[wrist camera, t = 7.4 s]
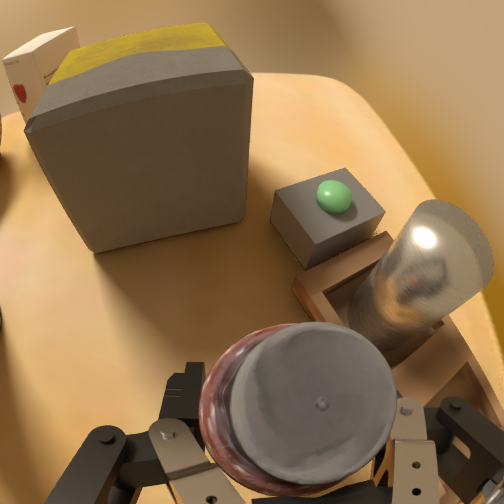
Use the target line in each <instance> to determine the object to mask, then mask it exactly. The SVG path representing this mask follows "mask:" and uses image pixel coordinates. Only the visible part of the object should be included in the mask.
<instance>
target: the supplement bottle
mask: <svg viewBox="0 0 504 504" xmlns="http://www.w3.org/2000/svg"><path fill="white" fill-rule="evenodd" d="M396 413H397V390H396V384H395V381H394V377H393V374H392V371H391V369H390V367H389V365H388V363H387V361H386V359H385V358H384V357H383V355H382V354H381V352H380V351H379V350H378V349H377V348H376V347H375V346H374V345H373V344H372V343H371V342H370V341H369V340H368V339H367V338H365V337H364V336H363V335H361V334H359V333H357V332H356V331H354V330H352V329H349V328H346V327H344V326H340V325H336V324H334V323H327V322H302V323H298V324H297V323H292V324H280V325H275V326H270V327H266V328H263V329H260V330H257V331H254V332H252V333H250V334H248V335H247V336H245V337H243V338H241V339H240V340H238V341H237V342H236V343H234V344H233V345H231V346H230V347H229V348H228V349H227V350H226V351H225V352H224V353H223V354H222V355H221V357H220V358H219V359H218V360H217V361H216V363H215V364H214V365H213V367H212V368H211V370H210V372H209V374H208V376H207V378H206V380H205V382H204V384H203V387H202V391H201V395H200V401H199V425H200V431H201V435H202V438H203V441H204V444H205V446H206V448H207V450H208V452H209V454H210V455H211V457H212V458H213V460H214V461H215V463H216V464H217V465H218V466H219V467H220V468H221V469H222V470H223V471H224V472H225V473H226V474H227V475H228V476H229V477H230V478H232V479H233V480H234V481H236V482H237V483H239V484H241V485H242V486H244V487H246V488H248V489H251V490H253V491H256V492H258V493H262V494H265V495H269V496H277V497H280V496H288V497H299V496H305V495H310V494H315V493H318V492H321V491H323V490H326V489H328V488H330V487H332V486H334V485H336V484H338V483H340V482H341V481H342V480H344V479H345V478H347V477H348V476H350V475H352V474H353V473H355V472H357V471H358V470H360V469H361V468H363V467H364V466H365V465H366V464H368V463H369V462H370V461H371V460H372V459H373V458H374V457H375V456H376V455H377V454H378V453H379V451H380V450H381V448H382V447H383V446H384V444H385V442H386V441H387V438H388V437H389V435H390V432H391V430H392V428H393V424H394V421H395V417H396Z"/></svg>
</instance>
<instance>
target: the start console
mask: <svg viewBox="0 0 504 504" xmlns="http://www.w3.org/2000/svg"><path fill="white" fill-rule="evenodd" d="M385 212H386V211H385V210H384V209H383V208H382V207H381V206H380V204H379V203H378V202H377V201H376V200H375V199H374V198H373V197H372V196H371V194H370V193H369V192H368V191H367V190H366V189H365V188H364V187H363V186H362V185H361V184H360V183H359V181H358V180H357V179H356V178H355V177H354V176H353V175H352V174H351V173H350V172H349V171H348V170H347V169H346V168H343V169H339V170H336V171H333V172H330V173H327V174H324V175H321V176H318V177H315V178H312V179H309V180H306V181H303V182H300V183H297V184H294V185H291V186H288V187H285V188H282V189H279V190H276V191H275V193H274V199H273V206H272V212H271V218H270V221H271V222H272V224H273V225H274V226H275V228H276V229H277V231H278V232H279V234H280V235H281V236H282V238H283V239H284V241H285V242H286V244H287V245H288V246H289V248H290V249H291V251H292V252H293V254H294V255H295V257H296V258H297V260H298V261H299V262H300V264H301V265H302V267H303V268H304V270H307V269H309V268H311V267H313V266H315V265H317V264H319V263H321V262H323V261H325V260H327V259H329V258H331V257H333V256H335V255H337V254H339V253H341V252H343V251H345V250H347V249H349V248H351V247H353V246H355V245H357V244H359V243H361V242H363V241H365V240H367V239H369V238H371V236H372V234H373V233H374V231H375V229H376V228H377V226H378V224H379V222H380V221H381V219H382V217H383V216H384V214H385Z"/></svg>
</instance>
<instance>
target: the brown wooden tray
mask: <svg viewBox="0 0 504 504" xmlns="http://www.w3.org/2000/svg"><path fill="white" fill-rule="evenodd" d="M393 241H394V240H393V239H392V237H391V236H390V235H389V234H388V232H387V231H384V232H383V233H381V234H379V235H377V236H375V237H373V238H371V239H369V240H367V241H365V242H363V243H361V244H359V245H357V246H355V247H354V248H352V249H350V250H348V251H346V252H344V253H342V254H340V255H338V256H336V257H334V258H332V259H330V260H328V261H326V262H324V263H322V264H320V265H318V266H316V267H314V268H312V269H309V270H307V271H305V272H303V273H301V274H299V275H297V276H296V279H295V281H294V284H293V287H292V289H291V290H292V291H293V293H294V294H295V296H296V297H297V299H298V300H299V302H300V304H301V305H302V307H303V308H304V310H305V311H306V313H307V315H308V316H309V318H310V319H311V321H312V322H327V323H334V324H336V325H340V326H344V327H346V328H349V329H350V327H349V324H348V319H347V309H348V305H349V302H350V300H351V298H352V296H353V295H354V294H355V292H356V291H357V290H358V289H359V287H360V286H361V285H362V283H363V282H364V281H365V280H366V278H367V277H368V276H369V274H370V273H371V272H372V270H373V269H374V268H375V266H376V265H377V264H378V262H379V261H380V260H381V258H382V257H383V255H384V254H385V253H386V251H387V250H388V249H389V247H390V246H391V244H392V243H393ZM381 354H382V355H383V357H384V358H385V359H386V361H387V363H388V365H389V367H390V369H391V371H392V374H393V377H394V381H395V384H396V388H397V390H398V391H399V392H400V394H401V395H402V396H403V397H406V398H412V399H415V400H417V401H418V402H420V403H421V405H422V406H423V408H430V407H439V406H440V403H441V401H442V400H443V399H444V398H446V397H449V396H455V397H460V398H462V399H464V400H465V401H467V402H468V403H469V404H470V405H472V406H473V407H474V408H475V409H477V410H478V411H479V412H480V413H482V414H483V415H484V416H485V417H487V418H488V419H489V420H490V421H492V422H493V423H494V424H495V425H496V426H498V427H499V428H500V429H501V430H503V431H504V411H503V409H502V407H501V405H500V403H499V401H498V399H497V397H496V395H495V393H494V391H493V389H492V387H491V385H490V383H489V381H488V380H487V378H486V376H485V374H484V372H483V370H482V369H481V367H480V365H479V363H478V362H477V360H476V358H475V356H474V355H473V353H472V351H471V350H470V348H469V346H468V345H467V343H466V341H465V340H464V338H463V337H462V335H461V333H460V332H459V330H458V329H457V327H456V326H455V324H454V322H453V321H452V319H451V318H450V316H449V315H447V316H446V317H444V318H443V319H441V320H440V321H438V322H437V323H436V324H434V325H433V326H431V327H430V328H428V329H427V330H425V331H424V332H422V333H421V334H419V335H417V336H416V337H414V338H413V339H411V340H410V341H408V342H406V343H405V344H403V345H402V346H400V347H398V348H397V349H394V350H392V351H389V352H381ZM453 444H454V445H455V446H456V447H457V448H458V449H459V450H460V451H461V452H462V453H463V454H464V455H465V456H466V457H467V458H468V459H469V458H470V450H469V448H468V447H467V446H466V445H465V444H464V443H463V442H462V441H460V440H459V439H458V438H457V437H456V438H455V440H454V442H453ZM438 481H439V502H440V504H457V503H458V502H459V501H460V498H459V497H458V496H457V495H456V494H455V493H454V492H453V491H452V490H451V489H450V488H449V486H448V485H447V484H446V483H445V482H444V481H443V480H442V479H441V478H440V477H439V476H438Z"/></svg>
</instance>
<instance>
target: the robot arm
mask: <svg viewBox="0 0 504 504" xmlns="http://www.w3.org/2000/svg"><path fill="white" fill-rule="evenodd" d="M0 324H1V319H0ZM205 380H206V377H205V364H204V362H187V363H186V368H185V373H174V374H173V375H172V376H171V377H170V378H169V379H168V381H167V385H166V389H165V393H164V397H163V401H162V406H161V410H160V414H159V418H158V421H156V422H154V423H153V424H152V425H151V426H150V428H149V430H148V431H146V432H143V433H138V434H130V435H125V433H124V432H123V431H122V430H121V429H120V428H118V427H115V426H110V425H105V426H100V427H97V428H95V429H93V430H92V431H91V432H90V433H89V435H88V436H87V438H86V439H85V441H84V442H83V444H82V445H81V447H80V448H79V450H78V451H77V453H76V455H75V456H74V458H73V459H72V461H71V462H70V464H69V465H68V467H67V468H66V470H65V471H64V473H63V475H62V476H61V478H60V479H59V481H58V482H57V484H56V486H55V487H54V489H53V490H52V492H51V494H50V495H49V497H48V498H47V500H46V502H45V503H44V504H136V503H137V500H138V498H139V495H140V493H141V490H142V488H143V487H147V486H154V485H160V484H165V485H166V487H167V489H168V491H169V493H170V495H171V497H172V499H173V501H174V503H175V504H246V503H245V501H244V500H243V499H242V497H241V496H240V495H239V493H238V492H237V491H236V489H235V488H234V487H233V485H232V484H231V483H230V481H229V480H228V479H227V477H226V476H225V474H224V473H223V471H222V470H221V469H220V467H219V466H218V465H217V464H216V463H210V461H209V460H208V458H207V457H206V455H205V444H204V441H203V438H202V435H201V431H200V425H199V401H200V395H201V391H202V387H203V384H204V382H205ZM396 390H397V388H396ZM456 437H457V438H458V439H459V440H460V441H462V442H463V443H464V444H465V445H466V446H467V447H468V448H469V450H470V458H469V459H468V458H467V457H466V456H465V455H464V454H463V453H462V452H461V451H460V450H459V449H458V448H457V447H456V446H455V445H454V444H453V442H454V440H455V438H456ZM438 476H439V477H440V478H441V479H442V480H443V481H444V482H445V483H446V484H447V485H448V486H449V488H450V489H451V490H452V491H453V492H454V493H455V494H456V495H457V496H458V497H459V498H460V500H461V501H462V502H463V503H464V504H504V431H503V430H501V429H500V428H499V427H498V426H496V425H495V424H494V423H493V422H492V421H490V420H489V419H488V418H487V417H485V416H484V415H483V414H482V413H480V412H479V411H478V410H477V409H475V408H474V407H473V406H472V405H470V404H469V403H468V402H467V401H465V400H464V399H462V398H460V397H455V396H449V397H446V398H444V399H443V400H442V401H441V403H440V406H439V407H430V408H423V406H422V405H421V403H420V402H418V401H417V400H415V399H412V398H406V397H403V396H402V395H401V394H400V392H399V391H398V390H397V413H396V417H395V421H394V424H393V428H392V430H391V432H390V435H389V437H388V438H387V441H386V442H385V444H384V446H383V447H382V448H381V450H380V451H379V453H378V454H377V455H376V456H375V457H374V458H373V459H372V467H371V476H370V480H367V481H364V482H360V483H356V484H351V485H347V486H344V487H342V488H340V489H337V490H335V491H333V492H330V493H328V494H326V495H323V496H321V497H317V498H305V497H288V496H280V497H270V498H257V499H252V504H440V502H439V481H438Z"/></svg>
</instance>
